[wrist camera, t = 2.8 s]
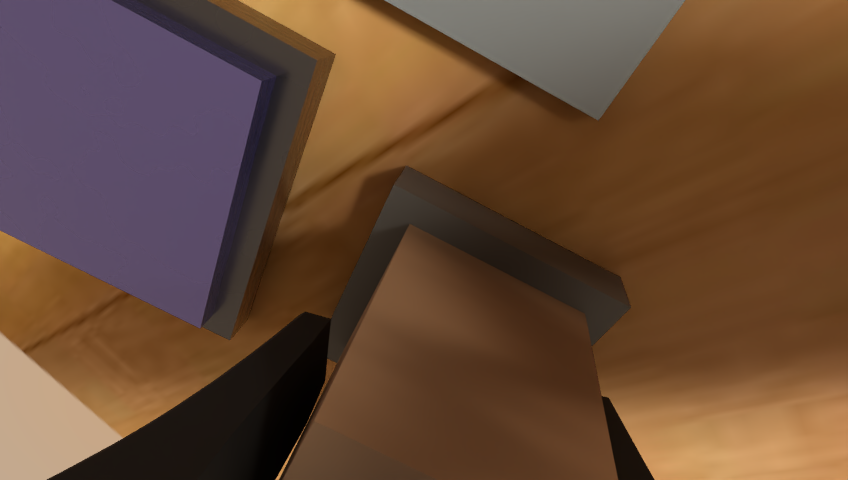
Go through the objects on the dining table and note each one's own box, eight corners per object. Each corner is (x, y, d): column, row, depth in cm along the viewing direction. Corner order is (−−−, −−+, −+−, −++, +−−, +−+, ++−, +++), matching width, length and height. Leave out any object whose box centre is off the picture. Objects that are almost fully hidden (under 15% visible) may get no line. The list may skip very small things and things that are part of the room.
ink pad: (335, 54, 9) (304, 64, 8) (247, 319, 14) (217, 354, 13) (-58, -162, 9) (-164, -191, 7) (-14, 189, 14) (-75, 211, 12)
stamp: (620, 277, 11) (724, 578, 5) (498, 407, 14) (483, 682, 8) (406, 165, 10) (276, 361, 5) (330, 325, 14) (199, 554, 8)
